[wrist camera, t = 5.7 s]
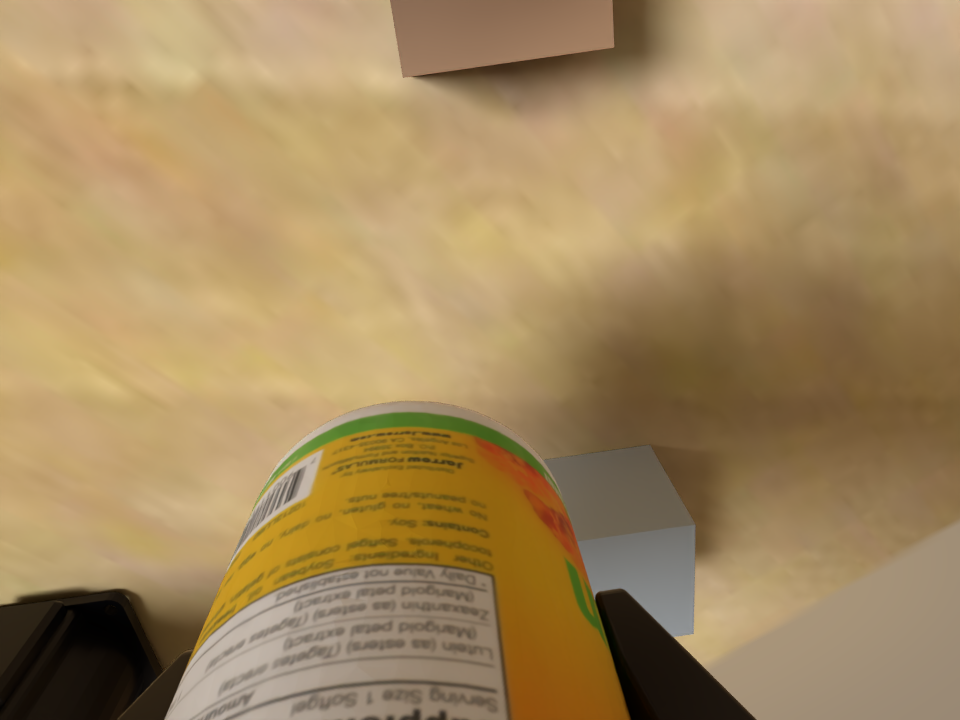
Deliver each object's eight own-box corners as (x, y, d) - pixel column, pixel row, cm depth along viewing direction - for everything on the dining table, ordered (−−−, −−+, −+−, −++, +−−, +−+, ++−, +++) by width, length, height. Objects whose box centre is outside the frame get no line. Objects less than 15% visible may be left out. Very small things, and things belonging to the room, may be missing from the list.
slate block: (650, 541, 25) (693, 634, 21) (537, 557, 25) (556, 653, 21) (649, 443, 23) (695, 524, 19) (525, 461, 23) (545, 545, 19)
